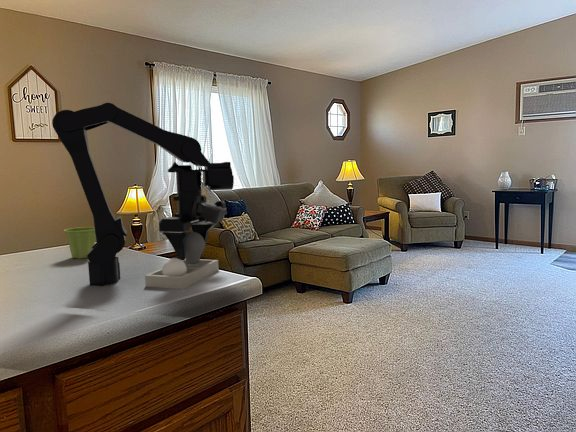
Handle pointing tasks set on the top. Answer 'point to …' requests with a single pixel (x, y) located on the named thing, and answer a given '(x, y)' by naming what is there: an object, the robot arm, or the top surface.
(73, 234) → the plant pot
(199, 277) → the tray
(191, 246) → the light bulb
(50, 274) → the top surface
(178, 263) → the ceramic egg
